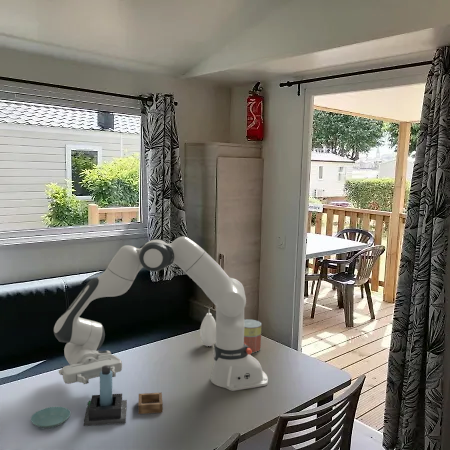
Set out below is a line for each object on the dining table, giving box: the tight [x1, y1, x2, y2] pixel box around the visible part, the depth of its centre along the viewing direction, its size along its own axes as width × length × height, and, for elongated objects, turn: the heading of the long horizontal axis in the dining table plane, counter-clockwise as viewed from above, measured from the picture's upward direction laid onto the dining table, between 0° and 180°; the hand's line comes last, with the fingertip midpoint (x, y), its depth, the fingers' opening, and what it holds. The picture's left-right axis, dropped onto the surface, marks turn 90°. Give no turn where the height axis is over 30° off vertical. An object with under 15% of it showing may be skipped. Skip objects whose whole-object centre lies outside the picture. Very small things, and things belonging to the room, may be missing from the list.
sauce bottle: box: [199, 308, 216, 347], centre depth 212 cm, size 8×8×18 cm
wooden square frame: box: [137, 392, 164, 415], centre depth 157 cm, size 8×8×3 cm
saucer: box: [30, 406, 71, 429], centre depth 147 cm, size 12×12×2 cm
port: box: [83, 393, 128, 427], centre depth 152 cm, size 13×12×4 cm
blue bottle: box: [99, 365, 113, 407], centre depth 151 cm, size 4×4×15 cm
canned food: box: [244, 318, 263, 353], centre depth 211 cm, size 11×11×12 cm
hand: (100, 378), depth 155 cm, fingers open, 8 cm apart
